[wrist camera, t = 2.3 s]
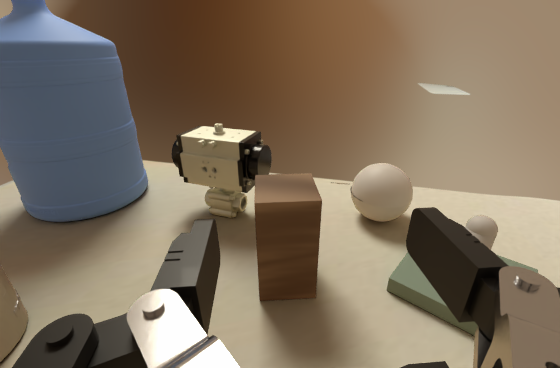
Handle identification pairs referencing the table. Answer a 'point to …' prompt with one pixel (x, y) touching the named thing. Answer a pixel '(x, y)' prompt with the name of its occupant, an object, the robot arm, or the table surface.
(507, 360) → the robot arm
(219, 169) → the pneumatic valve
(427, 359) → the table surface
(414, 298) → the stub base
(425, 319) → the table surface
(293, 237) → the brown wooden block
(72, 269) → the table surface
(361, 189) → the seamed sphere
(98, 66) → the water jug
